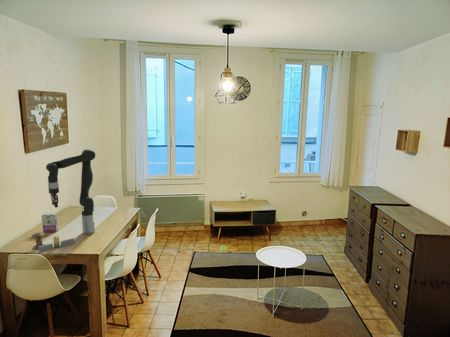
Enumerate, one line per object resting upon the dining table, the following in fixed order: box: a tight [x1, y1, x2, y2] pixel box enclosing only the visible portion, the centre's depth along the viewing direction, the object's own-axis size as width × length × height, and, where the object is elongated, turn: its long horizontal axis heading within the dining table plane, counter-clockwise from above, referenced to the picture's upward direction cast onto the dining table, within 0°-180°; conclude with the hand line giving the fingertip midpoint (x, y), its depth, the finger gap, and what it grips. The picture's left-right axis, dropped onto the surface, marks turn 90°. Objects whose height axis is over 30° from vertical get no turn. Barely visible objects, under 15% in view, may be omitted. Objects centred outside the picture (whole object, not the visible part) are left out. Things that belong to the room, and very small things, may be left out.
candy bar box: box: [41, 212, 59, 233], centre depth 292 cm, size 11×5×16 cm, turn 99°
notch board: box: [37, 237, 75, 253], centre depth 260 cm, size 26×2×4 cm, turn 130°
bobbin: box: [31, 231, 46, 251], centre depth 259 cm, size 9×9×11 cm
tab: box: [53, 236, 61, 249], centre depth 260 cm, size 4×4×8 cm
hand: (55, 206), depth 269 cm, fingers open, 8 cm apart
